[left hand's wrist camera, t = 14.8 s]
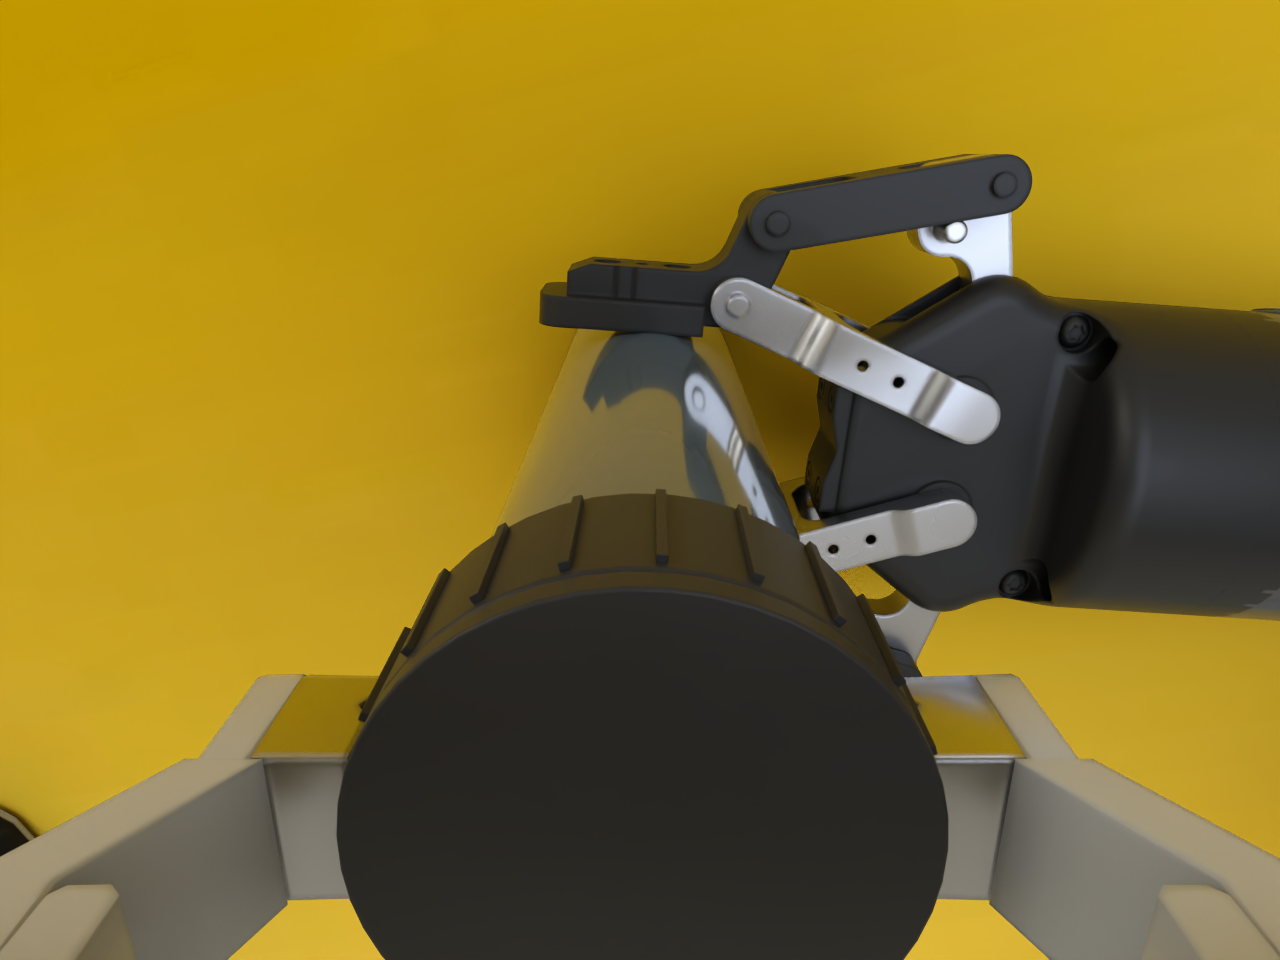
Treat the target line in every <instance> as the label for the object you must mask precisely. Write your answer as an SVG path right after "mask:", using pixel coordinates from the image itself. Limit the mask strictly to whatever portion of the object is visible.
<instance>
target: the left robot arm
mask: <svg viewBox="0 0 1280 960" xmlns="http://www.w3.org/2000/svg"><path fill="white" fill-rule="evenodd" d="M378 678H379V676H347V675H308V676H307V675H304V674H284V675H265V676H262V677H259V678H258V679H257V680H256V681H255V682H254V684H253V685H252V686H251V688H250V689H249V690H248V692H247V693H246V694H245V696H244V697H243V698H242V700H241V701H240V703H239V704H238V705H237V707H236V708H235V709H234V711H233V712H232V713H231V715H230V716H229V718H228V719H227V720H226V722H225V723H224V724H223V726H222V727H221V728H220V730H219V731H218V732H217V734H216V735H215V737H214V738H213V739H212V741H211V742H210V743H209V745H208V746H207V747H206V749H205V750H204V752H203V753H202V754H201V756H200V757H199V758H198V759H184V760H182V761H180V762H178V763H176V764H174V765H172V766H170V767H169V768H167V769H165V770H163V771H161V772H159V773H157V774H155V775H153V776H152V777H150V778H148V779H146V780H144V781H142V782H140V783H138V784H137V785H135V786H133V787H131V788H129V789H127V790H125V791H123V792H121V793H120V794H118V795H116V796H114V797H112V798H110V799H108V800H106V801H104V802H103V803H101V804H99V805H97V806H95V807H93V808H91V809H89V810H87V811H86V812H84V813H82V814H80V815H78V816H76V817H74V818H72V819H71V820H69V821H67V822H65V823H63V824H61V825H59V826H57V827H55V828H54V829H52V830H50V831H48V832H46V833H44V834H42V835H40V836H38V837H37V838H35V839H33V840H31V841H29V842H27V843H25V844H23V845H21V846H20V847H18V848H16V849H14V850H12V851H10V852H8V853H6V854H4V855H3V856H1V857H0V960H227V959H229V958H230V957H231V956H232V955H233V954H234V953H235V952H236V951H237V950H238V949H240V948H241V947H242V946H243V945H244V944H245V943H246V942H247V941H248V940H249V939H250V938H252V937H253V936H254V935H255V934H256V933H257V932H258V931H259V930H260V929H261V928H263V927H264V926H265V925H266V924H267V923H268V922H269V921H270V920H271V919H272V918H273V917H275V916H276V915H277V914H278V913H279V912H280V911H281V910H282V909H283V908H284V907H286V906H287V900H314V899H349V895H348V892H347V888H346V885H345V882H344V878H343V875H342V872H341V867H340V860H339V852H338V845H337V837H336V832H337V803H338V798H339V793H340V788H341V783H342V778H343V773H344V770H345V767H346V765H347V762H348V759H349V757H350V754H351V752H352V749H353V746H354V744H355V741H356V739H357V737H358V735H359V733H360V731H361V729H362V727H363V725H364V722H361V721H359V720H358V717H359V715H360V712H361V710H362V708H363V707H364V705H365V703H366V701H367V699H368V697H369V695H370V693H371V691H372V689H373V687H374V685H375V683H376V681H377V680H378ZM904 678H905V680H906V684H907V686H908V688H909V690H910V693H911V695H912V697H913V699H914V701H915V703H916V705H917V707H918V709H919V712H920V714H921V716H922V718H923V720H924V722H925V724H926V726H927V728H928V731H929V733H930V735H931V737H932V739H933V741H934V743H935V745H936V749H937V753H938V754H937V755H934V758H935V761H936V764H937V767H938V770H939V773H940V776H941V779H942V782H943V786H944V792H945V798H946V804H947V810H948V816H949V818H948V854H947V860H946V865H945V871H944V877H943V882H942V885H941V888H940V891H939V894H938V897H937V899H962V900H990V903H989V904H990V905H991V906H992V907H993V908H994V909H995V910H997V911H998V912H999V913H1000V914H1001V915H1002V916H1003V917H1004V918H1005V919H1006V920H1007V921H1009V922H1010V923H1011V924H1012V925H1013V926H1014V927H1015V928H1016V929H1017V930H1018V931H1019V932H1020V933H1022V934H1023V935H1024V936H1025V937H1026V938H1027V939H1028V940H1029V941H1030V942H1031V943H1032V944H1034V945H1035V946H1036V947H1037V948H1038V949H1039V950H1040V951H1041V952H1042V953H1043V954H1044V955H1046V956H1047V957H1048V958H1049V959H1050V960H1280V859H1279V858H1277V857H1275V856H1273V855H1271V854H1270V853H1268V852H1266V851H1264V850H1262V849H1260V848H1258V847H1256V846H1255V845H1253V844H1251V843H1249V842H1247V841H1245V840H1243V839H1241V838H1240V837H1238V836H1236V835H1234V834H1232V833H1230V832H1228V831H1226V830H1225V829H1223V828H1221V827H1219V826H1217V825H1215V824H1213V823H1211V822H1210V821H1208V820H1206V819H1204V818H1202V817H1200V816H1198V815H1196V814H1195V813H1193V812H1191V811H1189V810H1187V809H1185V808H1183V807H1181V806H1180V805H1178V804H1176V803H1174V802H1172V801H1170V800H1168V799H1166V798H1165V797H1163V796H1161V795H1159V794H1157V793H1155V792H1153V791H1151V790H1150V789H1148V788H1146V787H1144V786H1142V785H1140V784H1138V783H1136V782H1135V781H1133V780H1131V779H1129V778H1127V777H1125V776H1123V775H1121V774H1120V773H1118V772H1116V771H1114V770H1112V769H1110V768H1108V767H1106V766H1105V765H1103V764H1101V763H1099V762H1097V761H1095V760H1093V759H1079V758H1078V757H1077V756H1076V754H1075V753H1074V752H1073V750H1072V749H1071V747H1070V746H1069V745H1068V743H1067V742H1066V741H1065V739H1064V738H1063V737H1062V735H1061V734H1060V733H1059V731H1058V730H1057V728H1056V727H1055V726H1054V724H1053V723H1052V722H1051V720H1050V719H1049V718H1048V716H1047V715H1046V714H1045V712H1044V711H1043V709H1042V708H1041V707H1040V705H1039V704H1038V703H1037V701H1036V700H1035V699H1034V697H1033V696H1032V694H1031V693H1030V692H1029V690H1028V689H1027V688H1026V686H1025V685H1024V684H1023V682H1022V681H1021V680H1020V678H1018V677H1016V676H1014V675H1012V674H994V675H969V676H939V677H904Z"/></svg>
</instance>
